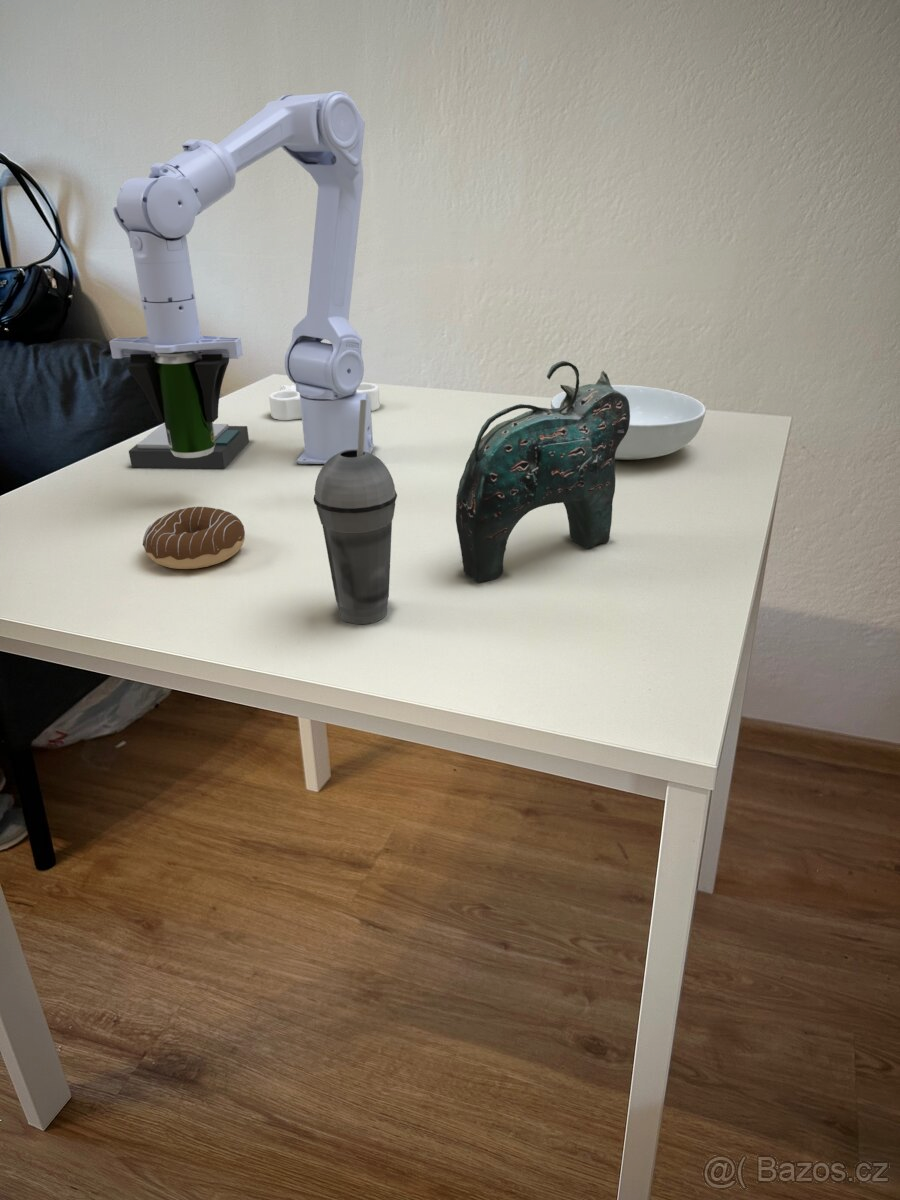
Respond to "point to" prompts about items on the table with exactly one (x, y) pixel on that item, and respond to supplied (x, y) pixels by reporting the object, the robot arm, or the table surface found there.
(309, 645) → the table surface
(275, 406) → the knuckle duster
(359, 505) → the beverage cup
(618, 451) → the serving bowl
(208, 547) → the donut
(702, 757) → the table surface
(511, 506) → the ceramic cat
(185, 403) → the beer can
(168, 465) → the scale
